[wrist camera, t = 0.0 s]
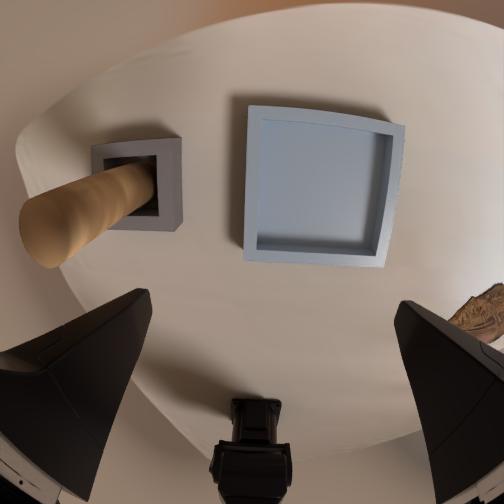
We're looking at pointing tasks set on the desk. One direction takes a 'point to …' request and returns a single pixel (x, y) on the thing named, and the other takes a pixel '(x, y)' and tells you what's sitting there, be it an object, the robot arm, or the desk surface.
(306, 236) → the tray
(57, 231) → the dowel
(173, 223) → the socket collar
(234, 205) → the desk surface
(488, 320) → the wooden fragment
